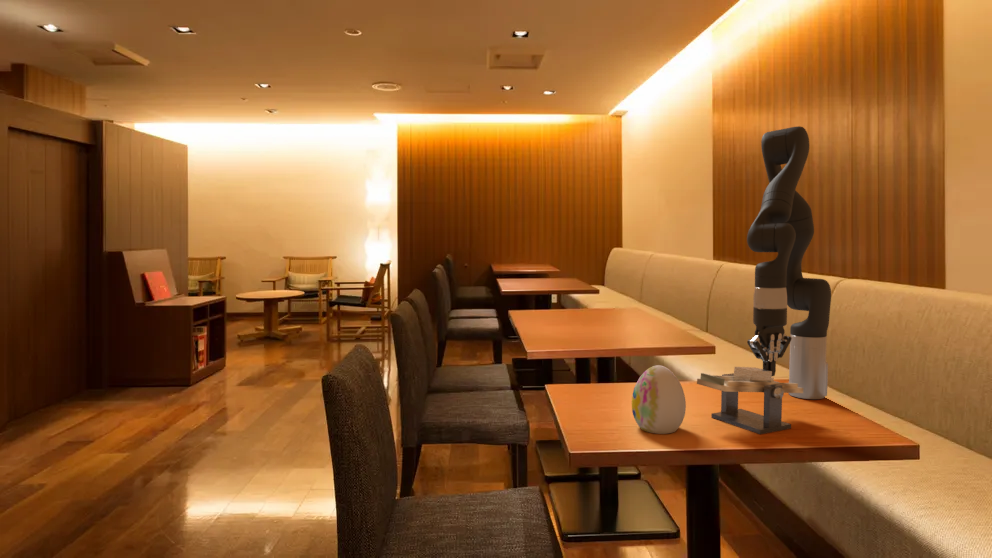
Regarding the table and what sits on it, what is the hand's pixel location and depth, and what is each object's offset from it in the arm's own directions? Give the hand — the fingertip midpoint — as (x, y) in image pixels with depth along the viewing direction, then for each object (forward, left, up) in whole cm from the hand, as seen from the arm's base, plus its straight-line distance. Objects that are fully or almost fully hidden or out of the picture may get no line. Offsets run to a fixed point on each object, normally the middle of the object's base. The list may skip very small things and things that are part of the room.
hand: (769, 375), depth 154 cm
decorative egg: (+29, -6, -11) cm, 32 cm away
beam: (+6, 0, -2) cm, 6 cm away
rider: (+6, 0, -1) cm, 6 cm away
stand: (+6, 0, -11) cm, 12 cm away
